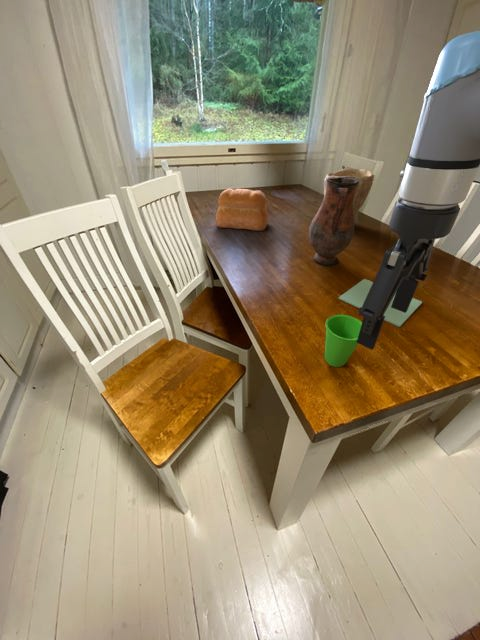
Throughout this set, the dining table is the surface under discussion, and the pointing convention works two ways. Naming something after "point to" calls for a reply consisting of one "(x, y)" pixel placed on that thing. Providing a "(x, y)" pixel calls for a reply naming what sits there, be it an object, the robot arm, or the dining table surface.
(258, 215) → the bread
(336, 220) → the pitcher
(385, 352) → the dining table surface
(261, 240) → the dining table surface
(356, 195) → the tan flared vase
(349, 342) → the cup
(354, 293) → the cloth
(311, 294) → the dining table surface
